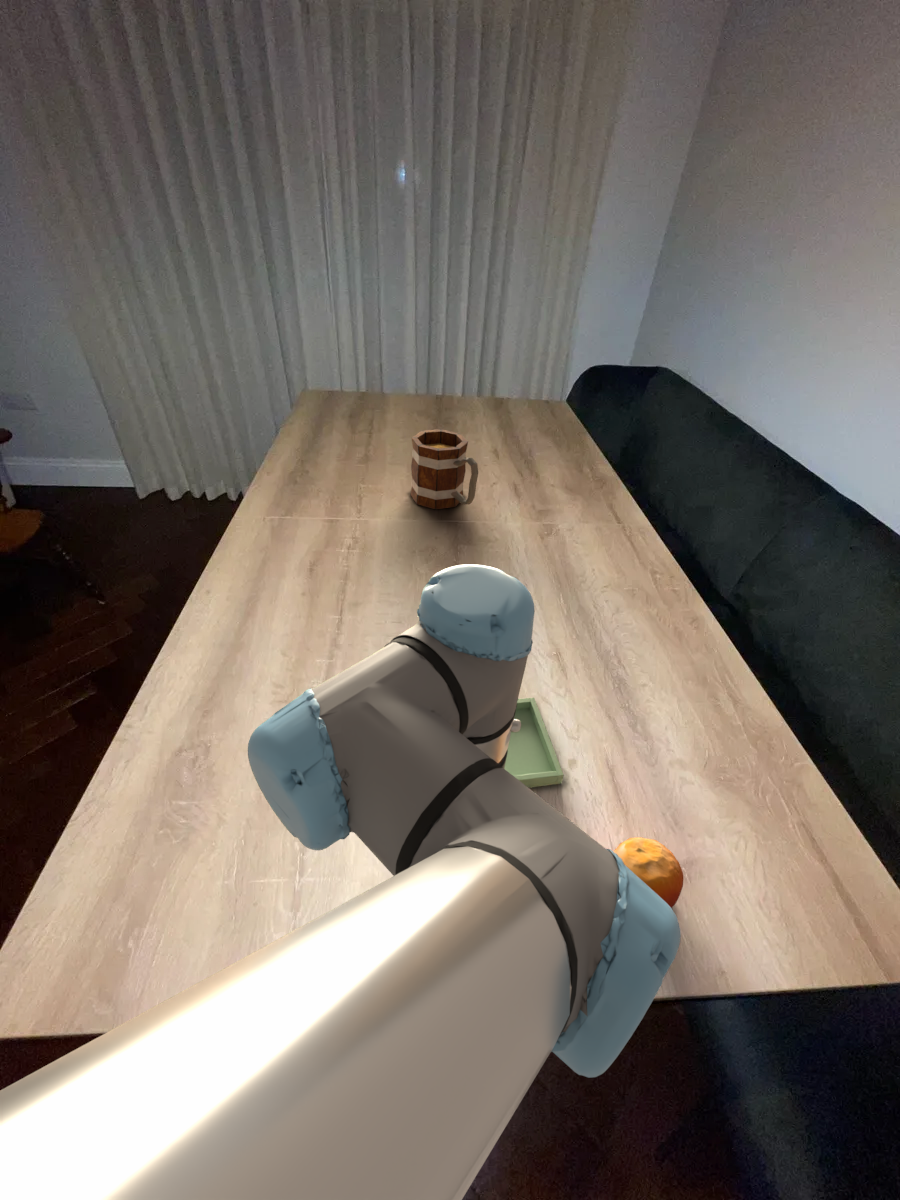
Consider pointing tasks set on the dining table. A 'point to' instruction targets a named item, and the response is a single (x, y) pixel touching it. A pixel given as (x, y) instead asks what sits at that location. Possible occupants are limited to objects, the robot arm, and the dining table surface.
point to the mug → (441, 469)
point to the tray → (532, 749)
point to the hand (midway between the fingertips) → (447, 869)
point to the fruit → (653, 866)
